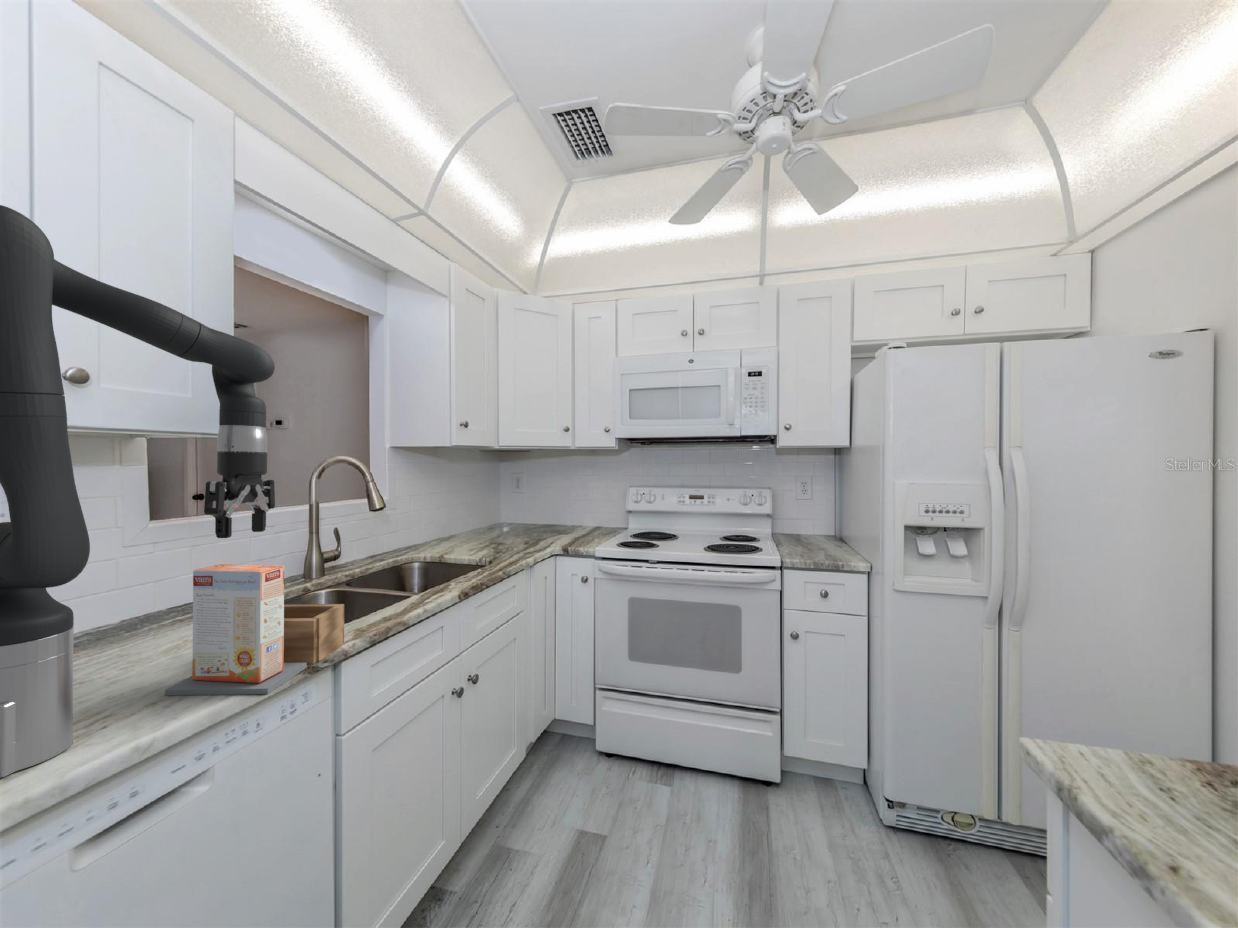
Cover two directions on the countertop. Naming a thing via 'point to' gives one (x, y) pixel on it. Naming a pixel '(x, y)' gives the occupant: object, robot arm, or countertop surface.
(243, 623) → the cracker box
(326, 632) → the crate
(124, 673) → the countertop surface
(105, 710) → the countertop surface
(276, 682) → the pad
